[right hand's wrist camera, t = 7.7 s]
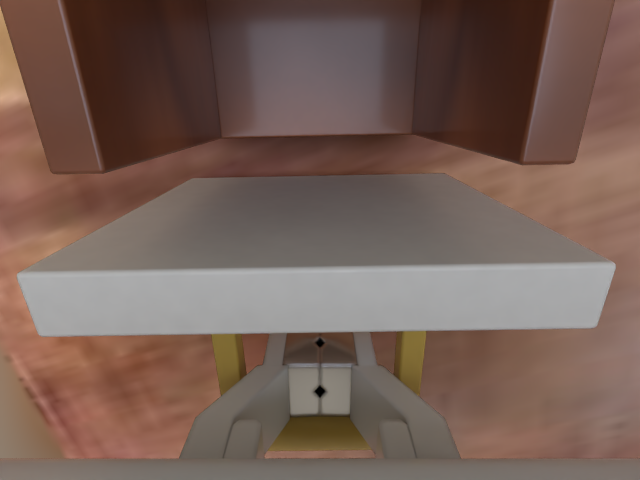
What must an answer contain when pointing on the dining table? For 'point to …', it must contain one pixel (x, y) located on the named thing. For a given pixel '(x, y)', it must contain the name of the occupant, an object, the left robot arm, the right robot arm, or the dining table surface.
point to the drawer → (311, 191)
